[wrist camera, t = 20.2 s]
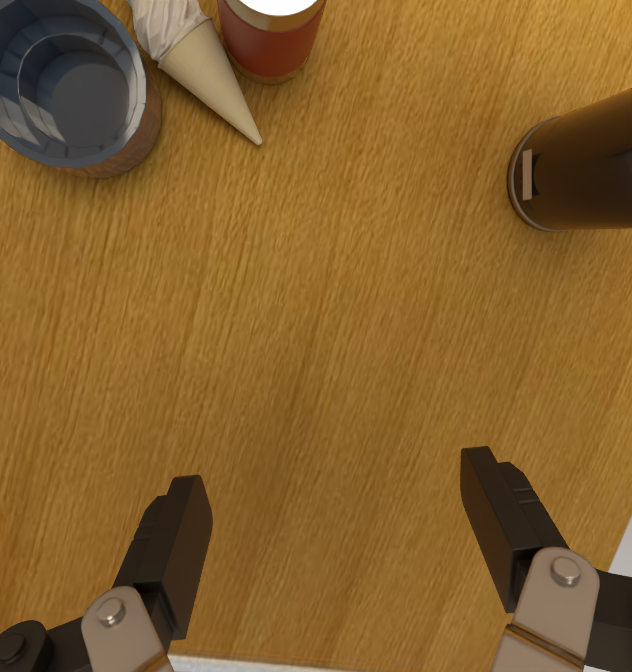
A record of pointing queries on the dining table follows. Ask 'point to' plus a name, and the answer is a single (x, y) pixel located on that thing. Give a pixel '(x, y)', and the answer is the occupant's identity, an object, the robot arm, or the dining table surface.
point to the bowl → (75, 88)
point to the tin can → (269, 36)
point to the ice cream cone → (193, 56)
